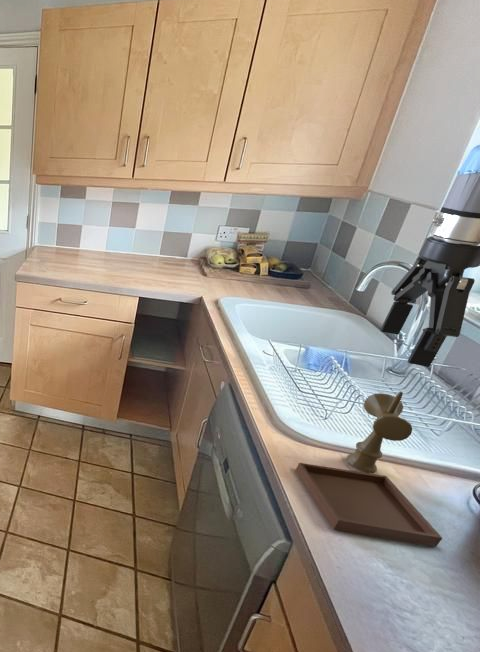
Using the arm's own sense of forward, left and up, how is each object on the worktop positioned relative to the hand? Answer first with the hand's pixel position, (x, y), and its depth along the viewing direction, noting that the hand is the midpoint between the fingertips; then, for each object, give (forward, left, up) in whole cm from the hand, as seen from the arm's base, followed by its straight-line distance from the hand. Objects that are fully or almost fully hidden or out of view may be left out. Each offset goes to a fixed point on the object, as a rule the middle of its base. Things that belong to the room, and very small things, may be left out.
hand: (402, 347), depth 80 cm
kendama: (-3, 0, -30) cm, 30 cm away
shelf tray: (+4, +12, -30) cm, 32 cm away
